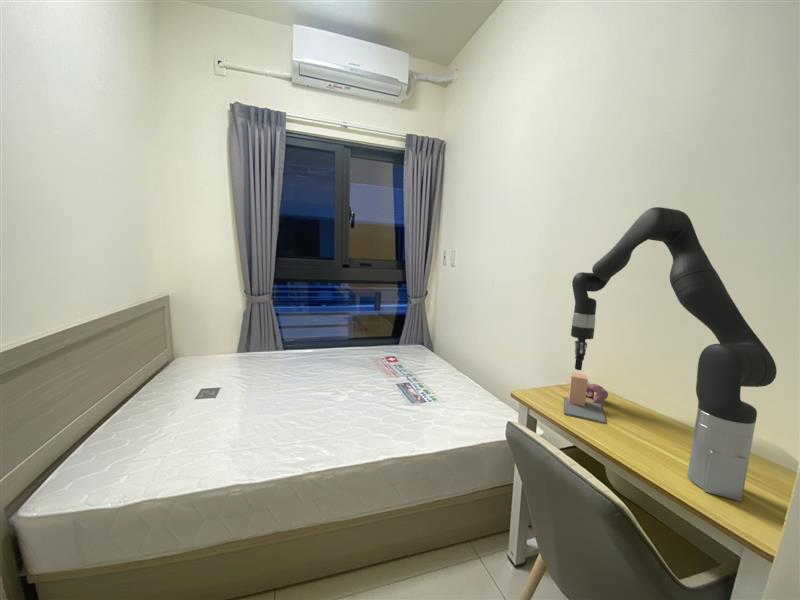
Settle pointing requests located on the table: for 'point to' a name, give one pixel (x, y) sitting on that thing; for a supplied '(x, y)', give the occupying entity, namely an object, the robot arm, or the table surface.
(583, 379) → the peach block
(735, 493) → the robot arm
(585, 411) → the charcoal mat
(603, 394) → the video game controller
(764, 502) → the table surface
